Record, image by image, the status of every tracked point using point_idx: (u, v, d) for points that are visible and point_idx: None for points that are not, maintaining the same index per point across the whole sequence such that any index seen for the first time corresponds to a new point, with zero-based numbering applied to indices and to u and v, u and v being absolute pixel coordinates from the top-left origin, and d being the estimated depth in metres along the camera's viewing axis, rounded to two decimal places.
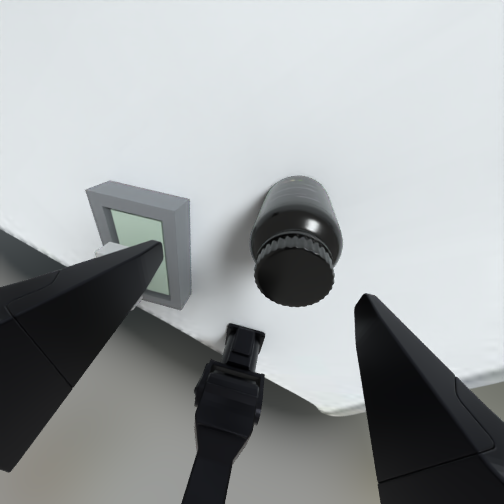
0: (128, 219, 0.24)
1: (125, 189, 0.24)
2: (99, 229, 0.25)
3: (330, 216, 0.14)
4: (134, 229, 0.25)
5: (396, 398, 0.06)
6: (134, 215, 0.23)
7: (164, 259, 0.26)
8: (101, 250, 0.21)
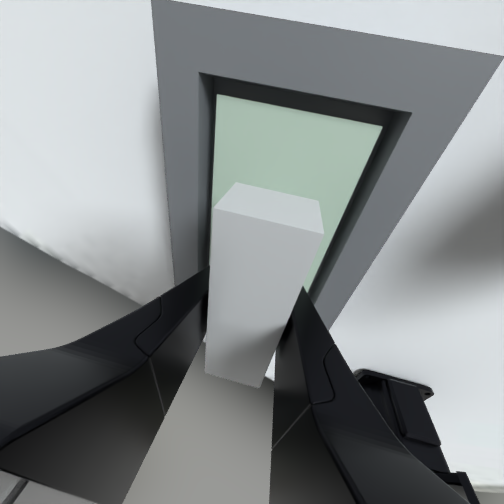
0: (266, 127, 0.08)
1: None
2: (169, 166, 0.09)
3: None
4: (272, 163, 0.09)
5: (286, 367, 0.06)
6: (292, 110, 0.08)
7: (324, 250, 0.10)
8: (234, 203, 0.05)
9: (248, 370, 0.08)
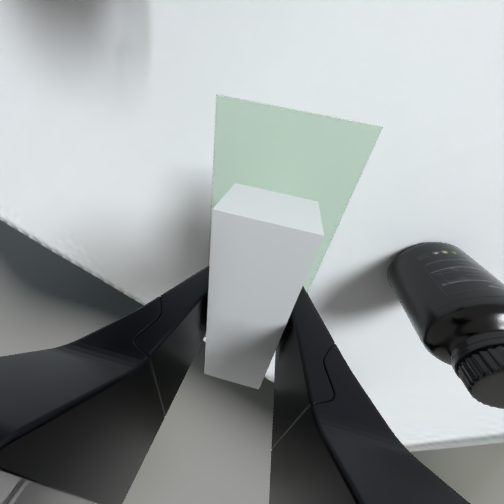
0: (265, 128, 0.08)
1: None
2: None
3: None
4: (272, 164, 0.09)
5: (286, 367, 0.06)
6: (291, 111, 0.08)
7: (324, 251, 0.10)
8: (233, 204, 0.05)
9: (248, 371, 0.08)
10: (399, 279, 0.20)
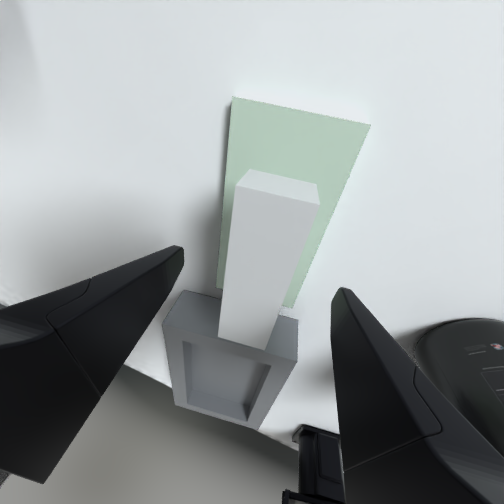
0: (273, 125, 0.09)
1: (211, 310, 0.17)
2: (169, 357, 0.18)
3: None
4: (278, 155, 0.10)
5: (361, 388, 0.06)
6: (295, 110, 0.09)
7: (322, 233, 0.12)
8: (250, 183, 0.06)
9: (256, 332, 0.10)
10: (436, 376, 0.13)
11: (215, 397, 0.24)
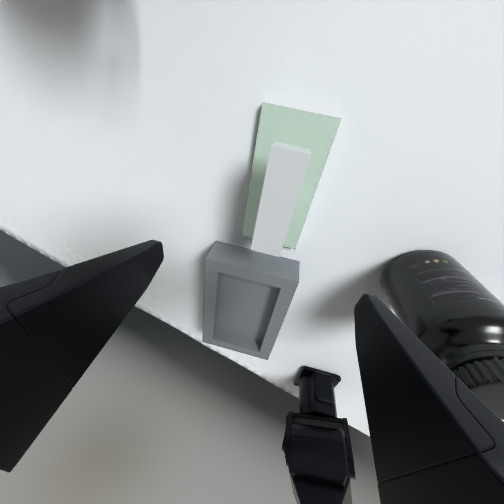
0: (285, 119, 0.16)
1: (237, 253, 0.24)
2: (205, 290, 0.25)
3: None
4: (288, 137, 0.17)
5: (396, 398, 0.06)
6: (298, 110, 0.16)
7: (315, 189, 0.19)
8: (277, 145, 0.13)
9: (275, 242, 0.17)
10: (391, 287, 0.20)
11: (234, 335, 0.31)
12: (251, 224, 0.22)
